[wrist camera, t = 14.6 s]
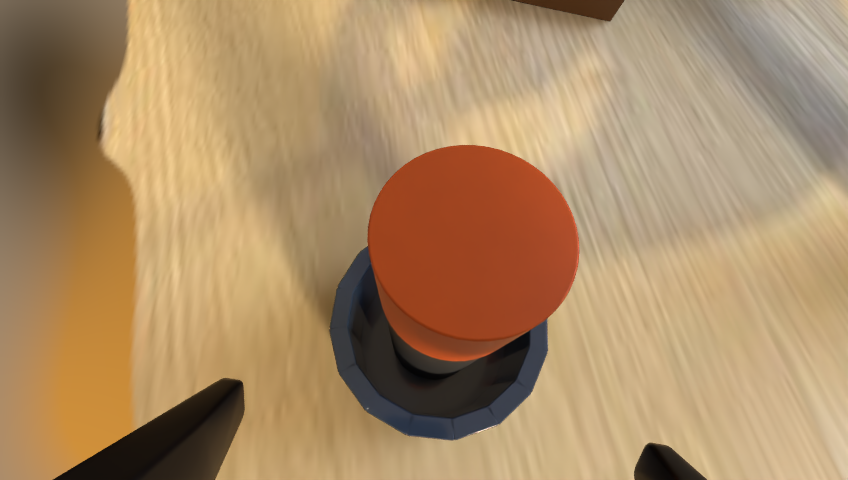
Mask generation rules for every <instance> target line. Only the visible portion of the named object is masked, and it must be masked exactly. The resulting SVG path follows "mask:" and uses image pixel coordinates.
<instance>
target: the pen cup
mask: <svg viewBox="0 0 848 480" xmlns="http://www.w3.org/2000/svg"><path fill="white" fill-rule="evenodd" d="M329 332H330V336H331V341H332V345H333V350H334V355H335V359H336V364H337V369H338V372H339V375H340V376H341V377H342V379H343V380H344V382H345V383H346V384H347V386H348V387H349V389H350V390H351V392H352V393H353V394H354V396H355V397H356V399H357V400H358V401H359V403H360V404H361V406H362V407H363V408H364V410H365V411H367V412H368V413H369V414H371V415H373V416H374V417H376V418H378V419H379V420H381V421H383V422H384V423H386V424H388V425H390V426H391V427H393V428H395V429H396V430H398V431H400V432H401V433H403V434H405V435H408V436H414V437H424V438H433V439H443V440H452V441H453V440H458V439H461V438H463V437H466V436H469V435H472V434H475V433H478V432H481V431H484V430H486V429H489V428H492V427H495V426H497V425H499V424H501V423H502V422H503V421H504V420H505V419H506V418H507V417H508V416H509V415H510V414H511V413H512V412H513V411H514V410H515V409H516V408H517V407H518V406H519V405H520V404H521V403H522V402H523V401H524V400H525V399H526V398H527V397H528V396H529V395H530V394H531V392H532V391H533V388H534V386H535V383H536V381H537V378H538V376H539V373H540V371H541V368H542V366H543V363H544V360H545V358H546V355H547V352H548V332H547V319H546V320H545V321H544V322H542V323H540V324H539V325H537V326H536V327H534V328H533V329H531V330H530V331H528V332H526V333H524V334H523V335H521V336H519V337H518V338H516V339H514V340H513V341H511V342H509V343H508V344H506V345H504V346H503V347H501V348H499V349H498V350H496V351H494V352H493V353H490V354H488V355H486V356H484V357H481V358H479V359H478V360H476V361H475V362H473V363H471V364H470V365H468V366H467V367H465V368H463V369H462V370H460V371H459V372H457V373H455V374H454V375H452V376H450V377H447V378H443V379H434V380H432V379H425V378H421V377H419V376H416V375H414V374H413V373H411V372H410V371H408V370H407V369H406V368H405V367H404V366H403V365H402V364H401V362H400V361H399V360H398V358H397V356H396V354H395V351H394V348H393V344H392V340H391V336H390V331H389V327H388V323H387V318H386V316H385V313H384V311H383V308H382V304H381V300H380V296H379V292H378V288H377V284H376V280H375V276H374V272H373V268H372V264H371V260H370V256H369V250H368V246H367V247H366V248H364V249H363V250H362V251H360V253H359V254H358V255H357V256H356V258H355V260H354V261H353V263H352V264H351V266H350V267H349V269H348V270H347V272H346V274H345V275H344V277H343V278H342V280H341V281H340V283H339V284H338V288H337V289H336V295H335V300H334V306H333V311H332V316H331V322H330V329H329Z"/></svg>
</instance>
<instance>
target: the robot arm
mask: <svg viewBox="0 0 848 480" xmlns="http://www.w3.org/2000/svg"><path fill="white" fill-rule="evenodd" d="M244 410H245V405H244V387H243V383H242V381H240V380H236V379H230V378H223V379H220V380H219V381H217V382H215V383H214V384H212V385H210V386H208V387H207V388H205V389H203V390H202V391H200V392H198V393H197V394H195V395H193V396H192V397H190V398H188V399H187V400H185V401H183V402H182V403H180V404H178V405H177V406H175V407H173V408H172V409H170V410H168V411H167V412H165V413H163V414H162V415H160V416H158V417H157V418H155V419H153V420H152V421H150V422H148V423H147V424H145V425H143V426H142V427H140V428H138V429H137V430H135V431H133V432H132V433H130V434H128V435H127V436H125V437H123V438H122V439H120V440H118V441H117V442H115V443H113V444H112V445H110V446H108V447H107V448H105V449H103V450H102V451H100V452H98V453H97V454H95V455H93V456H92V457H90V458H88V459H87V460H85V461H83V462H82V463H80V464H78V465H77V466H75V467H73V468H72V469H70V470H68V471H67V472H65V473H63V474H62V475H60V476H58V477H57V478H55V479H53V480H215V478H216V476H217V474H218V472H219V470H220V467H221V465H222V463H223V461H224V458H225V456H226V454H227V452H228V450H229V447H230V445H231V443H232V441H233V438H234V436H235V434H236V432H237V430H238V427H239V425H240V423H241V421H242V418H243V415H244ZM634 479H635V480H707V479H706V478H705V477H703V476H702V475H701V474H700V473H699V472H698V471H697V470H696V469H694V468H693V467H692V466H691V465H690V464H689V463H688V462H687V461H685V460H684V459H683V458H682V457H681V456H680V455H679V454H677V453H676V452H675V451H674V450H673V449H672V448H670V447H669V446H667V445H662V444H656V443H648V444H647V445H646V446H645V447H644V449H643V452H642V454H641V456H640V458H639V460H638V462H637V464H636V467H635V471H634Z"/></svg>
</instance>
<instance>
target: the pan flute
mask: <svg viewBox="0 0 848 480" xmlns="http://www.w3.org/2000/svg"><path fill="white" fill-rule="evenodd" d="M513 1H518V2H523V3H527V4H532V5H536V6H541V7H546V8H550V9H555V10H560V11H564V12H569V13H573V14H578V15H583V16H587V17H592V18H597V19H601V20H606V21H611V19H612V18H613V17H614V15H615V14H616V12H617V11H618V9H619V8H620V6H621V5H622V3H623V2H624V0H513Z"/></svg>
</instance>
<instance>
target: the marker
mask: <svg viewBox="0 0 848 480" xmlns="http://www.w3.org/2000/svg"><path fill="white" fill-rule="evenodd" d="M368 250H369V256H370V260H371V264H372V268H373V272H374V276H375V280H376V284H377V288H378V292H379V296H380V300H381V304H382V308H383V311H384V313H385V316H386V318H387V323H388V327H389V331H390V336H391V340H392V344H393V348H394V351H395V354H396V356H397V358H398V360H399V361H400V362H401V364H402V365H403V366H404V367H405V368H406V369H407V370H408V371H410V372H411V373H413V374H414V375H416V376H419V377H421V378H425V379H432V380H434V379H443V378H447V377H450V376H452V375H454V374H455V373H457V372H459V371H460V370H462V369H463V368H465V367H467V366H468V365H470V364H471V363H473V362H475V361H476V360H478V359H479V358H481V357H484V356H486V355H488V354H490V353H493V352H494V351H496V350H498V349H499V348H501V347H503V346H504V345H506V344H508V343H509V342H511V341H513V340H514V339H516V338H518V337H519V336H521V335H523V334H524V333H526V332H528V331H530V330H531V329H533V328H534V327H536V326H537V325H539V324H540V323H542V322H544V321H545V320H546V319H547V318H548V317H549V316H550V315H551V314H553V313H554V312H555V310H556V309H557V308H558V307H559V306H560V304H561V303H562V302H563V301H564V299H565V297H566V296H567V294H568V292H569V291H570V288H571V286H572V284H573V281H574V279H575V275H576V271H577V267H578V260H579V238H578V233H577V227H576V224H575V221H574V218H573V215H572V212H571V210H570V208H569V206H568V204H567V202H566V201H565V199H564V197H563V196H562V194H561V193H560V191H559V190H558V189H557V188H556V186H555V185H554V184H553V183H552V182H551V181H550V180H549V179H548V178H547V177H546V176H545V175H544V174H543V173H542V172H541V171H539V170H538V169H537V168H535V167H534V166H533V165H531V164H529V163H528V162H526V161H525V160H523V159H521V158H519V157H517V156H515V155H512V154H510V153H507V152H504V151H502V150H499V149H494V148H490V147H485V146H476V145H458V146H449V147H444V148H440V149H436V150H433V151H430V152H427V153H425V154H423V155H421V156H419V157H417V158H415V159H413V160H411V161H410V162H408V163H407V164H405V165H404V166H403V167H402V168H400V169H399V170H398V171H397V172H396V173H395V174H394V175H393V176H392V177H391V178H390V179H389V180H388V181H387V183H386V184H385V185H384V187H383V188H382V190H381V191H380V193H379V195H378V197H377V199H376V201H375V203H374V206H373V209H372V212H371V215H370V219H369V225H368Z"/></svg>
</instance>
